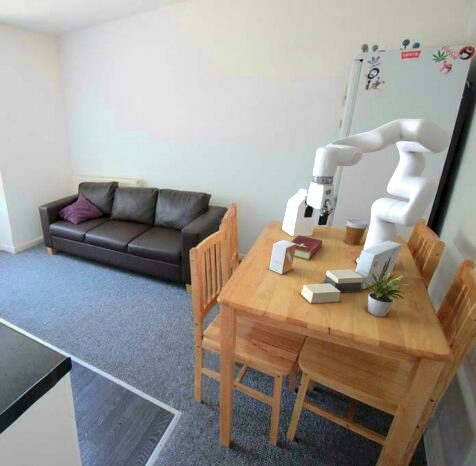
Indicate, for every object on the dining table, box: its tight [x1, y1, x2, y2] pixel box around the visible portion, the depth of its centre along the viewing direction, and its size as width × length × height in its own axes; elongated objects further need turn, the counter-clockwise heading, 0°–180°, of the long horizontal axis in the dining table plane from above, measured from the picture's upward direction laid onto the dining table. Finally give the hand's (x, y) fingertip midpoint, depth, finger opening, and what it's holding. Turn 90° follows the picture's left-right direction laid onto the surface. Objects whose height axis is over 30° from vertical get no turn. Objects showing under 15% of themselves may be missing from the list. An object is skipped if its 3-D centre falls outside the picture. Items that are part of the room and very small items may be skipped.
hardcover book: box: [290, 235, 323, 261], centre depth 161 cm, size 12×21×4 cm, turn 135°
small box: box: [269, 239, 296, 275], centre depth 141 cm, size 8×6×13 cm
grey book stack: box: [322, 275, 362, 293], centre depth 126 cm, size 11×6×4 cm, turn 93°
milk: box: [281, 188, 317, 237], centre depth 180 cm, size 12×12×26 cm
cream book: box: [325, 268, 363, 284], centre depth 125 cm, size 10×7×2 cm
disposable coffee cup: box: [344, 219, 369, 246], centre depth 166 cm, size 10×10×12 cm
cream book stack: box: [300, 283, 341, 304], centre depth 120 cm, size 11×6×4 cm, turn 93°
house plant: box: [359, 270, 410, 317], centre depth 108 cm, size 14×14×16 cm
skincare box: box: [354, 240, 403, 290], centre depth 128 cm, size 21×6×16 cm, turn 118°
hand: (314, 221), depth 127 cm, fingers open, 9 cm apart
